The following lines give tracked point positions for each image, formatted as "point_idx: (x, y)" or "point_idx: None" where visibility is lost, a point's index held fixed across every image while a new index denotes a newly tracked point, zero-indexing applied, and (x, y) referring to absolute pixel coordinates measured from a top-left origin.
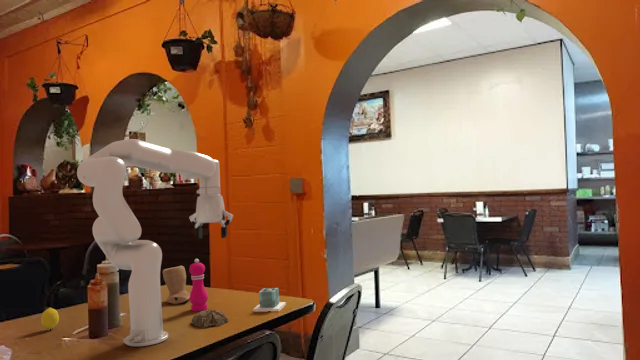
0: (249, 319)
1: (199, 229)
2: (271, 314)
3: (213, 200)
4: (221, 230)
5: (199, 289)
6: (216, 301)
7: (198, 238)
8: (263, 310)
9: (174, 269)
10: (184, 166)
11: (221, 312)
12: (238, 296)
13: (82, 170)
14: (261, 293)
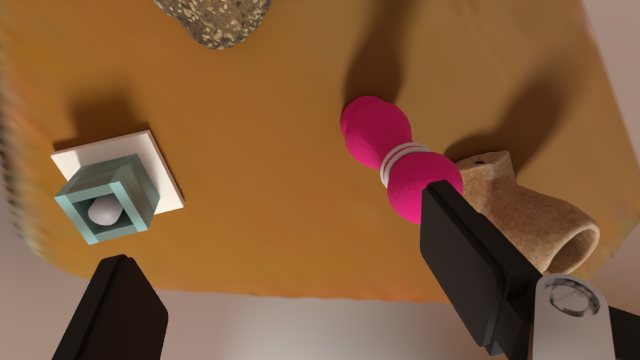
0: (78, 33)
1: (482, 281)
2: (49, 112)
3: None
4: (81, 339)
5: (374, 134)
6: (361, 205)
7: (428, 183)
8: (110, 139)
9: (556, 233)
10: None
11: (200, 27)
12: (325, 259)
13: None
14: (111, 180)
